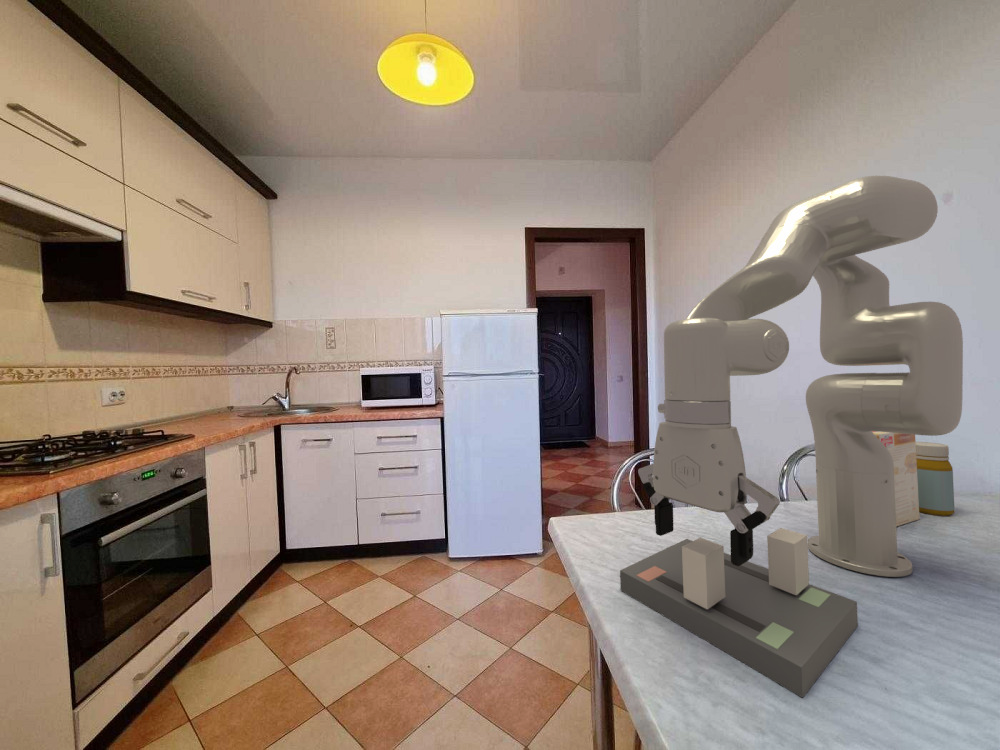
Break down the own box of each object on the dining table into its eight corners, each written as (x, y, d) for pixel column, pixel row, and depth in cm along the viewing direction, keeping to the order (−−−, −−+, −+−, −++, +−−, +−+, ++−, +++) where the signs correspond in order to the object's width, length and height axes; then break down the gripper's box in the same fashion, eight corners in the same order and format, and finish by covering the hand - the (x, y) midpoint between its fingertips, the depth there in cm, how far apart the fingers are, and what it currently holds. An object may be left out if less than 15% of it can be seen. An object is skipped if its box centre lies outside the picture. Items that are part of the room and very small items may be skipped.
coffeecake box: (876, 508, 82) (873, 424, 82) (922, 519, 75) (917, 427, 75) (837, 519, 77) (833, 429, 77) (882, 532, 70) (877, 433, 70)
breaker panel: (687, 555, 63) (686, 538, 63) (857, 625, 45) (856, 601, 45) (620, 590, 54) (619, 570, 54) (802, 697, 35) (801, 666, 35)
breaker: (782, 574, 51) (780, 527, 51) (809, 583, 48) (807, 535, 48) (769, 584, 48) (767, 535, 49) (796, 595, 46) (794, 544, 46)
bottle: (965, 517, 76) (962, 447, 76) (925, 516, 77) (922, 446, 77) (933, 505, 82) (930, 441, 83) (896, 504, 84) (894, 441, 84)
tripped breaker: (701, 585, 49) (700, 537, 49) (725, 596, 46) (723, 545, 46) (683, 597, 46) (681, 546, 46) (707, 609, 44) (705, 555, 44)
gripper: (623, 411, 52) (624, 530, 51) (760, 422, 37) (764, 588, 37) (654, 409, 56) (656, 519, 55) (789, 417, 41) (793, 567, 41)
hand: (699, 546), depth 46 cm, fingers open, 9 cm apart
